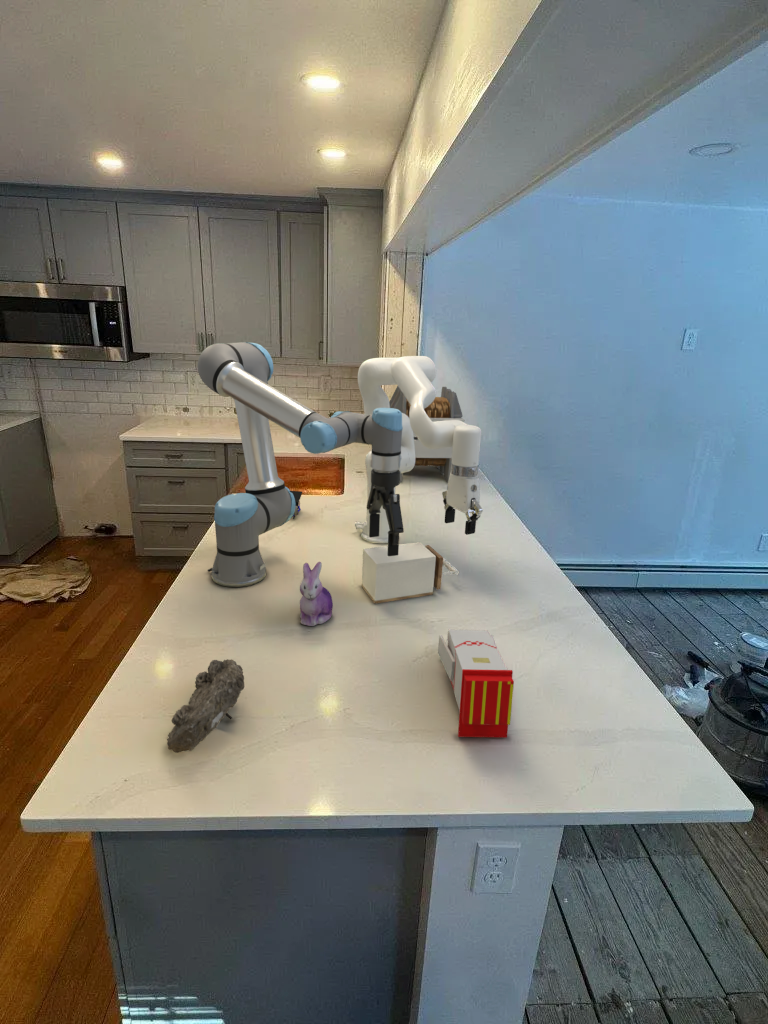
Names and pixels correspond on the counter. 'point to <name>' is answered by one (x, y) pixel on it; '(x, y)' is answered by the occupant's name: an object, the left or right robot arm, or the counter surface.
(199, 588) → the counter surface
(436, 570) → the drawer
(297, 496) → the figurine character
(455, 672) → the toy
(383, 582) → the cabinet
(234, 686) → the fossil
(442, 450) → the transformer
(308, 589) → the figurine
